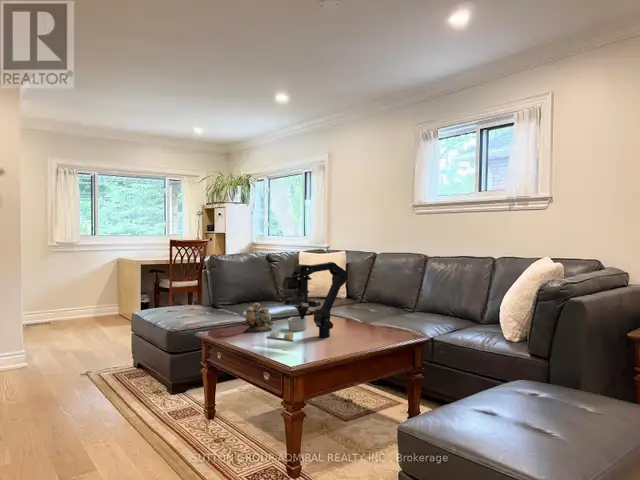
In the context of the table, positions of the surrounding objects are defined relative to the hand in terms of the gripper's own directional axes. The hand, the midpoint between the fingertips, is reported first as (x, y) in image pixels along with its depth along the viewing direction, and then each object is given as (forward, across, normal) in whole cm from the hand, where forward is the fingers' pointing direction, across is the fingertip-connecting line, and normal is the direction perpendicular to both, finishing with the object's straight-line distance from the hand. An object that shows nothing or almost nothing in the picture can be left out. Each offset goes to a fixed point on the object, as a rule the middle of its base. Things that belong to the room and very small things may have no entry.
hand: (302, 319), depth 230 cm
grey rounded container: (+12, -17, +22) cm, 30 cm away
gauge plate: (+12, -11, +1) cm, 17 cm away
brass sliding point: (+11, -8, 0) cm, 14 cm away
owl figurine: (+13, -35, +9) cm, 38 cm away
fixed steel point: (+11, -17, 0) cm, 20 cm away
